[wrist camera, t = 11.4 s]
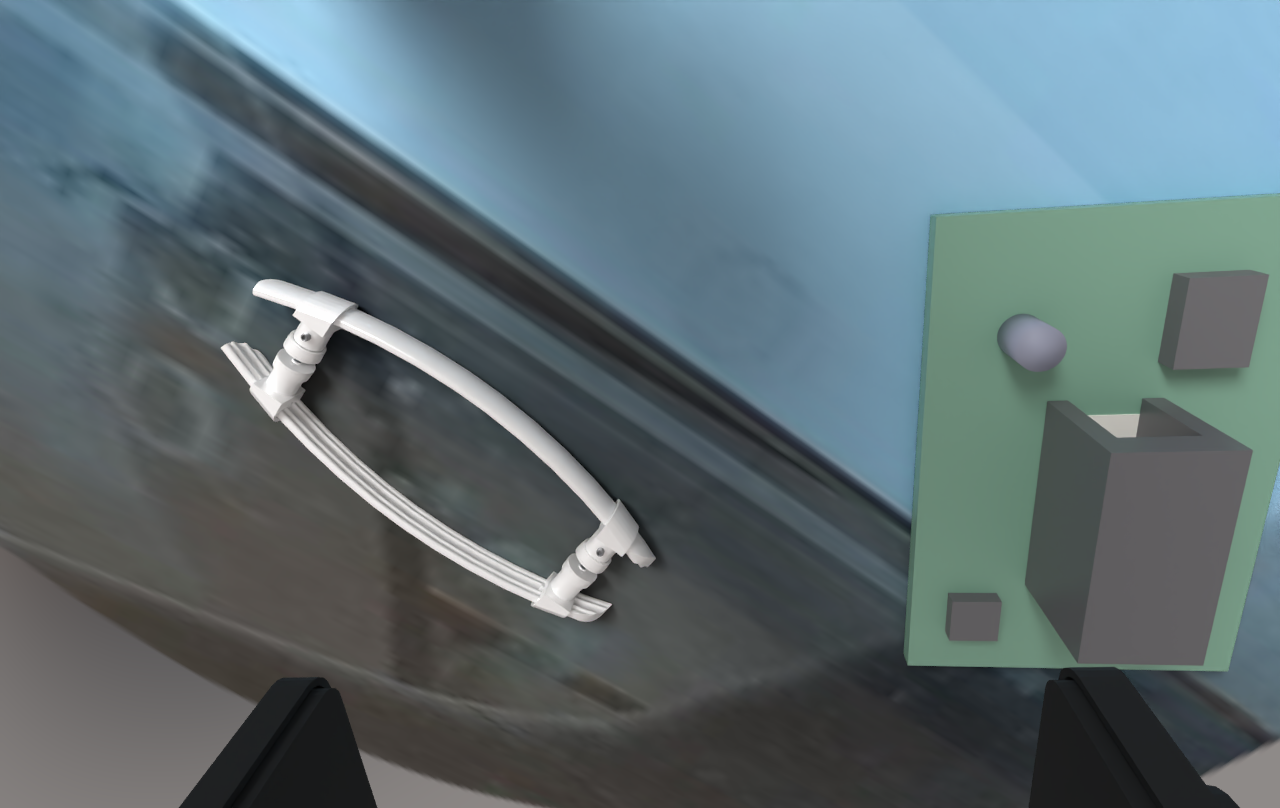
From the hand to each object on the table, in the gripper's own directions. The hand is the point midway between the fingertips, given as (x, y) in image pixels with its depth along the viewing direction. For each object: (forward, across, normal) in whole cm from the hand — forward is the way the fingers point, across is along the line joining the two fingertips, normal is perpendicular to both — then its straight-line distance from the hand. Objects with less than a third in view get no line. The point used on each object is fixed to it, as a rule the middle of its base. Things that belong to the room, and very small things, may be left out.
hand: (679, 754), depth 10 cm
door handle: (+28, +14, +8) cm, 32 cm away
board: (+26, -18, +10) cm, 34 cm away
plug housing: (+25, -18, +11) cm, 33 cm away
